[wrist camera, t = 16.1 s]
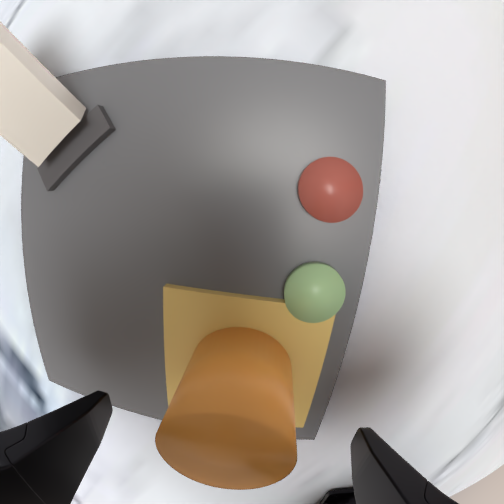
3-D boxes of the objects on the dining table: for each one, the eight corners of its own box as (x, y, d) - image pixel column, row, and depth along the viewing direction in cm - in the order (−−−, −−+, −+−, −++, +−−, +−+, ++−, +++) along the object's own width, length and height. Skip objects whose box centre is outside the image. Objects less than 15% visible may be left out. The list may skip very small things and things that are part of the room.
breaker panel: (379, 86, 10) (390, 76, 9) (313, 429, 14) (315, 445, 13) (44, 86, 11) (30, 81, 9) (55, 374, 15) (45, 384, 13)
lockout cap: (300, 333, 11) (312, 422, 6) (282, 409, 12) (282, 494, 7) (192, 319, 12) (147, 397, 7) (192, 396, 13) (162, 475, 8)
